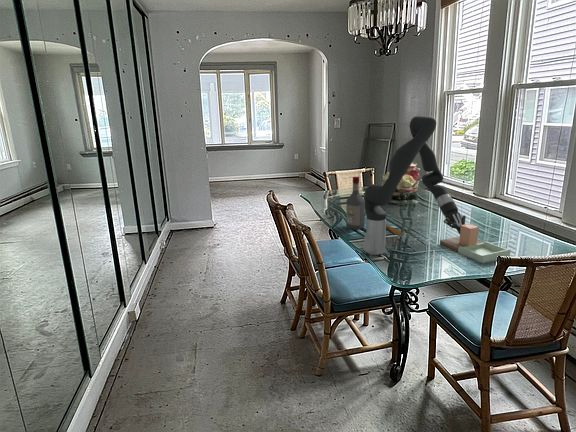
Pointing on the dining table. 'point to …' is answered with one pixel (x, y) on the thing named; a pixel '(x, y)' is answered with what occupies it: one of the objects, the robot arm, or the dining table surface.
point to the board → (453, 243)
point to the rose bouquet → (406, 186)
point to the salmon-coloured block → (468, 235)
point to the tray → (483, 252)
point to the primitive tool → (393, 230)
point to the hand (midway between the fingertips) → (462, 234)
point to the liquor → (355, 208)
